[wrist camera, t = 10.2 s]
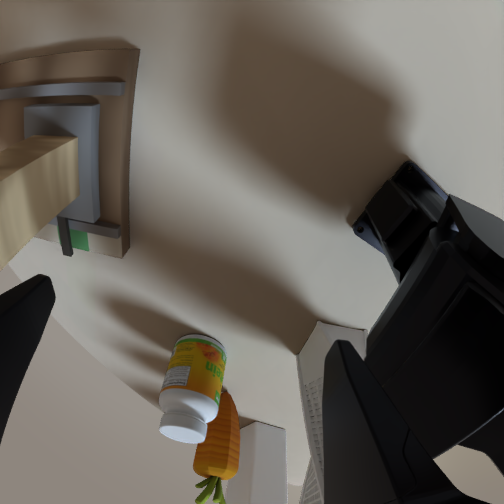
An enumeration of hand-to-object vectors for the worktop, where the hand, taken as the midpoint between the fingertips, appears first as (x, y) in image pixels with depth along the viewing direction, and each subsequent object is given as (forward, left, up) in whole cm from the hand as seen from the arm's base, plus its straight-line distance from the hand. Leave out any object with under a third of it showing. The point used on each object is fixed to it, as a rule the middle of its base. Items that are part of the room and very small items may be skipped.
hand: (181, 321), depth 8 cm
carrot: (-12, +24, -13) cm, 30 cm away
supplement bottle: (-6, +18, -13) cm, 23 cm away
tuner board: (+14, +6, -13) cm, 20 cm away
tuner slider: (+10, +6, -11) cm, 16 cm away
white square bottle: (-22, +32, -13) cm, 41 cm away
